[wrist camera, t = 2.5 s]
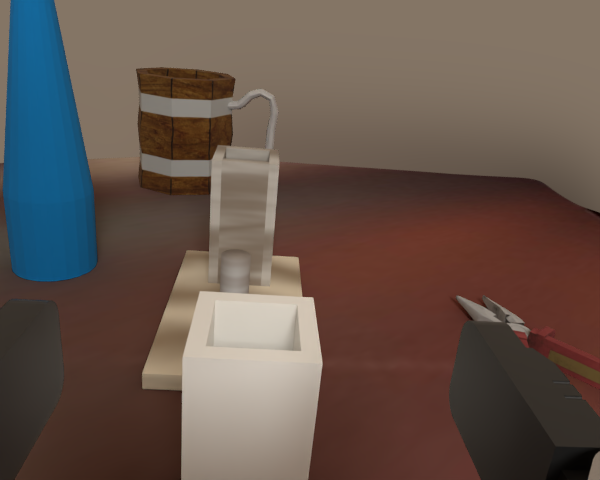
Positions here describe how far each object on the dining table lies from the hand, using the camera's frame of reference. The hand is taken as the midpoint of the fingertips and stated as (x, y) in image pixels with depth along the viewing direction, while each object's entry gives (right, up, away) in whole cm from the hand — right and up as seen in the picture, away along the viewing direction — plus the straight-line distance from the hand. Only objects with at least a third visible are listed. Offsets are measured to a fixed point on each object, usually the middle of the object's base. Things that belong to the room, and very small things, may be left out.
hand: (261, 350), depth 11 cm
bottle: (-22, 0, +41) cm, 46 cm away
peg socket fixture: (-5, -4, +35) cm, 35 cm away
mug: (-13, +10, +68) cm, 70 cm away
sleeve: (-2, -12, +17) cm, 21 cm away
